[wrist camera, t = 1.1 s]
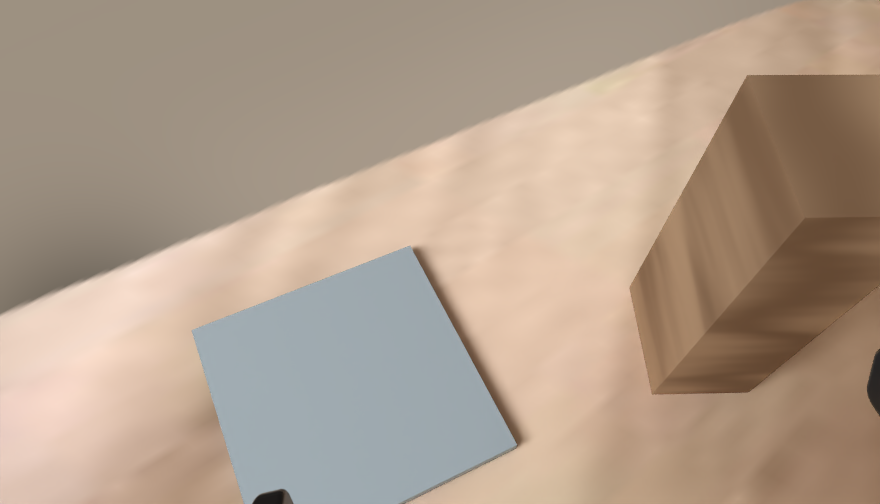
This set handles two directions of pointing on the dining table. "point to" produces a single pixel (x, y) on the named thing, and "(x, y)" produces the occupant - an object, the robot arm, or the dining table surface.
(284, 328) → the slate-blue rubber mat
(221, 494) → the dining table surface
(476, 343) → the dining table surface
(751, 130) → the wooden block
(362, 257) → the dining table surface
